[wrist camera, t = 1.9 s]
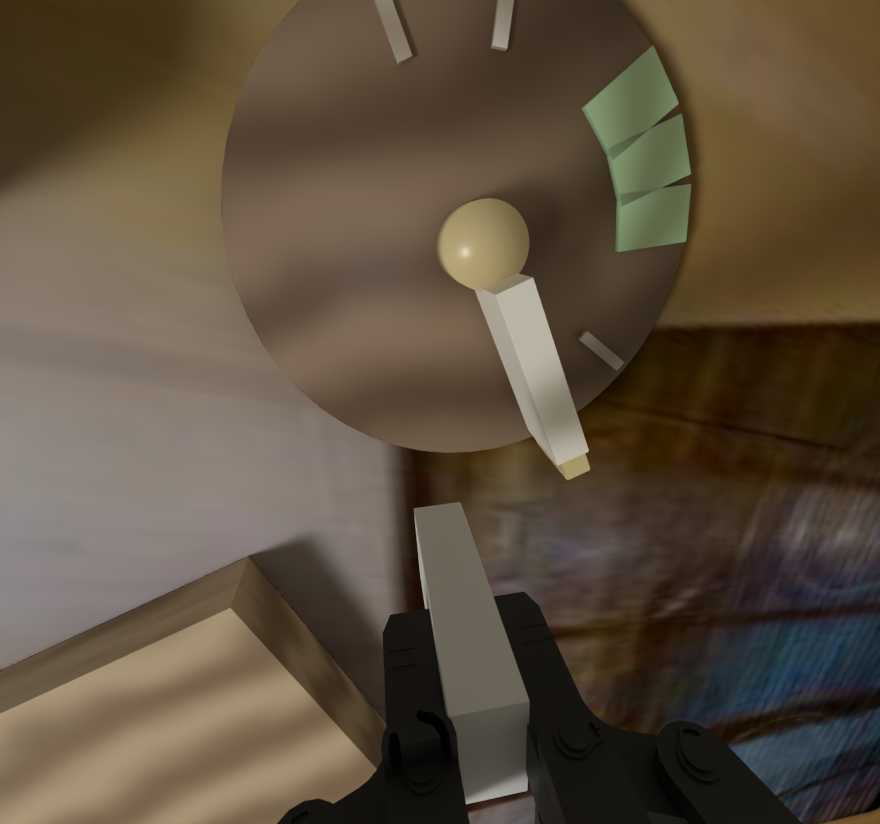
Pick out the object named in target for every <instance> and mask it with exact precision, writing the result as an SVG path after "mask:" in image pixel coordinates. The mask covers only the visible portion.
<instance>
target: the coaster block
mask: <svg viewBox="0 0 880 824" xmlns="http://www.w3.org/2000/svg"><path fill="white" fill-rule="evenodd" d="M385 729H386V723H385V722H384V720H383V719H382V718H381V717H380V715H379V714H378V713H377V712H376V711H375V709H374V708H373V707H372V706H371V705H370V703H369V702H368V701H367V700H366V698H365V697H364V696H363V695H362V694H361V692H360V691H359V690H358V689H357V687H356V686H355V685H354V684H353V683H352V681H351V680H350V679H349V678H348V677H347V675H346V674H345V673H344V672H343V670H342V669H341V668H340V667H339V666H338V664H337V663H336V662H335V661H334V659H333V658H332V657H331V656H330V655H329V653H328V652H327V651H326V650H325V649H324V647H323V646H322V645H321V644H320V642H319V641H318V640H317V639H316V638H315V636H314V635H313V634H312V633H311V631H310V630H309V629H308V628H307V627H306V625H305V624H304V623H303V622H302V621H301V619H300V618H299V617H298V616H297V614H296V613H295V612H294V611H293V610H292V608H291V607H290V606H289V605H288V603H287V602H286V601H285V600H284V599H283V597H282V596H281V595H280V594H279V593H278V591H277V590H276V589H275V588H274V586H273V585H272V584H271V583H270V582H269V580H268V579H267V578H266V577H265V575H264V574H263V573H262V572H261V571H260V569H259V568H258V567H257V566H256V565H255V563H254V562H253V561H252V560H251V558H250V557H249V556H248V557H246V558H244V559H241V560H239V561H237V562H235V563H233V564H231V565H228V566H226V567H224V568H222V569H220V570H218V571H215V572H213V573H211V574H209V575H207V576H205V577H202V578H200V579H198V580H196V581H194V582H192V583H189V584H187V585H185V586H183V587H181V588H179V589H176V590H174V591H172V592H170V593H168V594H166V595H163V596H161V597H159V598H157V599H155V600H153V601H150V602H148V603H146V604H144V605H142V606H140V607H137V608H135V609H133V610H131V611H129V612H127V613H125V614H122V615H120V616H118V617H116V618H114V619H112V620H109V621H107V622H105V623H103V624H101V625H99V626H96V627H94V628H92V629H90V630H88V631H86V632H83V633H81V634H79V635H77V636H75V637H73V638H70V639H68V640H66V641H64V642H62V643H60V644H57V645H55V646H53V647H51V648H49V649H47V650H44V651H42V652H40V653H38V654H36V655H34V656H31V657H29V658H27V659H25V660H23V661H21V662H18V663H16V664H14V665H12V666H10V667H8V668H5V669H3V670H1V671H0V824H277V823H278V822H279V821H280V819H281V818H282V817H283V816H284V815H285V814H286V813H287V812H288V810H290V809H292V808H293V807H295V806H296V805H298V804H300V803H301V802H303V801H307V800H313V799H322V800H325V801H328V802H331V803H333V804H334V803H335V802H337V801H338V800H340V799H342V798H343V797H345V796H347V795H348V794H350V793H351V792H353V791H355V790H356V789H358V788H359V787H360V786H362V785H363V784H364V783H365V782H367V781H368V780H369V779H370V777H371V776H372V775H373V774H374V773H375V771H376V770H377V768H378V766H379V765H380V763H381V761H382V754H381V744H382V738H383V733H384V731H385Z"/></svg>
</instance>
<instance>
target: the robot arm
mask: <svg viewBox="0 0 880 824" xmlns="http://www.w3.org/2000/svg"><path fill="white" fill-rule="evenodd" d="M414 516H415V526H416V536H417V547H418V557H419V567H420V577H421V584H422V590H423V596H424V603H425V609H423V610H417V611H411V612H405V613H399V614H393V615H390V617H389V620H388V622H387V624H386V627H385V629H384V632H383V650H384V672H385V674H384V676H385V702H386V729H385V731H384V733H383V738H382V744H381V754H382V761H381V763H380V765H379V766H378V768H377V770H376V771H375V773H374V774H373V775H372V776H371V777H370V779H369V780H368V781H367V782H365V783H364V784H363V785H362V786H360V787H359V788H358V789H356V790H355V791H353V792H351V793H350V794H348V795H347V796H345V797H343V798H342V799H340V800H338V801H337V802H335V803H334V804H333V803H331V802H328V801H325V800H322V799H313V800H307V801H303V802H301V803H300V804H298V805H296V806H295V807H293V808H292V809H290V810H288V812H287V813H286V814H285V815H284V816H283V817H282V818H281V819H280V821H279V822H278V823H277V824H469V818H468V813H467V807H466V804H469V803H474V802H478V801H483V800H487V799H492V798H496V797H501V796H505V795H510V794H515V793H519V792H524V791H527V785H528V780H529V783H530V787H531V790H532V794H533V797H534V800H535V804H536V805H535V824H802V823H801V822H800V821H799V820H798V819H797V818H796V817H795V816H794V814H793V813H792V812H791V811H790V810H789V809H788V808H787V807H786V806H785V805H784V804H783V803H782V802H781V801H780V800H779V799H778V798H777V797H776V796H775V795H774V794H773V793H772V792H771V790H770V789H769V788H768V787H767V786H766V785H765V784H764V783H763V782H762V781H761V780H760V779H759V778H758V777H757V776H756V775H755V774H754V773H753V772H752V771H751V770H750V769H749V767H748V766H747V765H746V764H745V763H744V762H743V761H742V760H741V759H740V758H739V757H738V756H737V755H736V754H735V753H734V752H733V751H732V750H731V749H730V748H729V747H728V746H727V745H726V743H725V742H723V741H722V740H721V739H720V738H718V737H717V736H716V735H715V734H714V733H712V732H711V731H710V730H708V729H706V728H704V727H702V726H700V725H697V724H695V723H691V722H685V721H676V722H673V723H669V724H667V725H666V726H665V727H664V728H663V729H662V730H661V731H660V732H659V736H655V735H649V734H643V733H636V732H630V731H625V730H621V729H618V728H614V727H612V726H610V725H608V724H606V723H604V722H603V721H602V720H600V719H599V718H598V717H596V716H595V715H594V714H593V713H592V712H591V711H590V710H589V708H588V707H587V706H586V705H585V703H584V701H583V700H582V698H581V696H580V694H579V692H578V690H577V687H576V685H575V683H574V681H573V679H572V677H571V675H570V672H569V670H568V668H567V666H566V664H565V662H564V659H563V657H562V655H561V653H560V651H559V649H558V646H557V644H556V642H554V638H553V636H552V633H551V631H550V629H549V627H547V623H546V620H545V618H544V616H543V614H542V612H541V610H540V607H539V605H538V604H536V603H535V602H534V601H533V600H532V599H531V598H530V597H529V596H528V595H527V594H526V593H525V592H519V593H513V594H507V595H501V596H495V597H493V594H492V592H491V589H490V586H489V583H488V580H487V577H486V574H485V571H484V569H483V566H482V563H481V560H480V557H479V554H478V551H477V548H476V546H475V543H474V540H473V537H472V534H471V531H470V528H469V526H468V523H467V520H466V517H465V514H464V511H463V508H462V505H461V503H460V502H458V503H451V504H444V505H436V506H429V507H422V508H415V509H414Z"/></svg>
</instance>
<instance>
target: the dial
mask: <svg viewBox="0 0 880 824" xmlns="http://www.w3.org/2000/svg"><path fill="white" fill-rule="evenodd" d="M678 104H679V102H678V100H677V98H676V95H675V93H674V91H673V89H672V86H671V84H670V82H669V79H668V77H667V75H666V73H665V70H664V68H663V66H662V63H661V61H660V59H659V57H658V54H657V52H656V50H655V48H654V45H653V46H651V44H650V43H649V41H648V40H647V38H646V37H645V35H644V34H643V32H642V31H641V29H640V28H639V26H638V25H637V24H636V22H635V21H634V19H633V18H632V17H631V15H630V14H629V13H628V12H627V11H626V10H625V9H624V8H623V7H622V6H621V5H620V3H619V2H618V1H617V0H299V1H298V3H297V4H296V5H295V6H294V7H293V8H292V10H291V11H290V12H289V13H288V14H287V15H286V17H285V18H284V19H283V20H282V21H281V22H280V24H279V25H278V26H277V27H276V28H275V30H274V31H273V33H272V34H271V36H270V38H269V39H268V41H267V42H266V44H265V46H264V47H263V49H262V50H261V52H260V54H259V55H258V57H257V59H256V60H255V62H254V63H253V66H252V68H251V70H250V73H249V75H248V77H247V79H246V82H245V84H244V86H243V89H242V91H241V93H240V96H239V98H238V100H237V104H236V107H235V111H234V115H233V118H232V122H231V125H230V129H229V133H228V136H227V142H226V149H225V157H224V164H223V171H222V221H223V229H224V237H225V245H226V251H227V255H228V259H229V263H230V267H231V271H232V275H233V279H234V283H235V286H236V288H237V291H238V293H239V296H240V298H241V301H242V304H243V306H244V309H245V311H246V314H247V316H248V318H249V320H250V322H251V323H252V325H253V327H254V329H255V331H256V333H257V334H258V336H259V338H260V340H261V342H262V344H263V345H264V346H265V348H266V349H267V351H268V352H269V353H270V355H271V356H272V358H273V359H274V360H275V362H276V363H277V365H278V366H279V367H280V369H281V370H282V371H283V372H284V373H285V374H286V375H287V376H288V377H289V379H290V380H291V381H292V382H293V383H294V384H295V385H296V386H297V387H298V388H299V389H300V391H302V392H303V393H304V394H305V395H306V396H307V397H309V398H310V399H311V400H312V401H313V402H315V403H316V404H317V405H318V406H319V407H320V408H322V409H323V410H324V411H326V412H327V413H329V414H330V415H332V416H334V417H335V418H337V419H338V420H340V421H341V422H343V423H344V424H346V425H348V426H350V427H352V428H354V429H356V430H358V431H360V432H362V433H364V434H366V435H368V436H370V437H373V438H376V439H379V440H382V441H385V442H388V443H390V444H393V445H397V446H402V447H407V448H411V449H416V450H422V451H433V452H444V453H448V452H472V451H479V450H486V449H493V448H497V447H501V446H505V445H508V444H512V443H516V442H519V441H522V440H524V439H527V438H529V437H532V436H533V435H532V434H531V433H530V432H529V430H528V428H527V425H526V423H525V420H524V418H523V415H522V412H521V410H520V407H519V405H518V402H517V399H516V397H515V394H514V391H513V389H512V386H511V384H510V381H509V378H508V376H507V373H506V371H505V368H504V365H503V363H502V360H501V358H500V355H499V352H498V350H497V347H496V344H495V342H494V339H493V337H492V334H491V331H490V329H489V326H488V324H487V321H486V318H485V316H484V313H483V311H482V308H481V305H480V303H479V300H478V297H477V295H476V292H475V290H474V289H471V288H469V287H466V286H465V285H463V284H461V283H459V282H457V281H456V280H454V279H452V278H451V277H450V276H449V275H448V274H447V273H446V272H445V271H444V270H443V268H442V267H441V265H440V263H439V261H438V258H437V254H436V246H435V245H436V235H437V232H438V229H439V226H440V224H441V222H442V221H443V219H444V218H445V216H446V215H447V214H448V213H449V212H450V211H451V210H453V209H454V208H456V207H457V206H459V205H462V204H464V203H468V202H472V201H475V200H479V199H485V198H493V199H498V200H502V201H504V202H506V203H508V204H510V205H511V206H513V207H514V208H515V209H516V210H517V211H518V212H519V213H520V215H521V216H522V218H523V220H524V221H525V224H526V226H527V229H528V233H529V252H528V256H527V259H526V262H525V264H524V266H523V268H522V270H521V271H520V273H519V274H523V275H526V276H530V277H533V279H534V282H535V285H536V288H537V291H538V294H539V297H540V300H541V304H542V307H543V310H544V313H545V316H546V319H547V322H548V325H549V328H550V332H551V335H552V338H553V341H554V344H555V347H556V350H557V353H558V356H559V360H560V363H561V366H562V369H563V372H564V375H565V378H566V381H567V385H568V388H569V391H570V394H571V397H572V400H573V403H574V406H575V409H576V412H578V411H579V410H581V409H582V408H583V407H585V406H586V405H587V404H589V403H590V402H591V401H592V400H593V399H594V398H596V397H597V396H598V395H599V394H600V393H601V392H603V391H604V390H605V389H606V388H607V387H608V386H609V385H610V384H611V383H612V382H613V381H614V380H615V378H616V377H617V376H618V375H619V374H620V373H621V372H622V371H623V370H624V369H625V367H626V366H627V365H628V364H629V362H630V361H631V360H632V358H633V357H634V356H635V354H636V353H637V352H638V350H639V349H640V348H641V346H642V345H643V343H644V341H645V340H646V338H647V336H648V335H649V333H650V332H651V330H652V328H653V327H654V325H655V323H656V321H657V319H658V317H659V315H660V313H661V311H662V309H663V306H664V304H665V302H666V300H667V298H668V295H669V292H670V290H671V287H672V284H673V281H674V278H675V276H676V273H677V270H678V266H679V262H680V257H681V253H682V249H683V245H684V242H686V238H687V226H688V215H689V204H690V193H691V184H689V175H690V174H691V170H690V163H689V157H688V150H687V144H686V137H685V131H684V124H683V117H682V113H681V114H680V112H679V109H678V106H677V105H678Z"/></svg>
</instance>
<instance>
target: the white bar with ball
mask: <svg viewBox="0 0 880 824" xmlns="http://www.w3.org/2000/svg"><path fill="white" fill-rule="evenodd" d="M435 246H436V254H437V258H438V261H439V263H440V265H441V267H442V268H443V270H444V271H445V272H446V273H447V274H448V275H449V276H450V277H451V278H452V279H454V280H456V281H457V282H459V283H461V284H463V285H465V286H466V287H469V288H471V289H474V290H475V292H476V295H477V297H478V300H479V303H480V305H481V308H482V311H483V313H484V316H485V318H486V321H487V324H488V326H489V329H490V331H491V334H492V337H493V339H494V342H495V344H496V347H497V350H498V352H499V355H500V358H501V360H502V363H503V365H504V368H505V371H506V373H507V376H508V378H509V381H510V384H511V386H512V389H513V391H514V394H515V397H516V399H517V402H518V405H519V407H520V410H521V412H522V415H523V418H524V420H525V423H526V425H527V428H528V430H529V432H530V433H531V434H532V435H533V436H534V438H535V439H536V441H537V444H538V445H539V446H540V447H541V449H542V450H543V451H544V452H545V453H546V455H547V456H548V457H549V458H550V460H551V461H552V462H553V463H554V465H555V466H556V467H557V468H558V469H559V471H560V472H561V473H562V474H563V476H564V477H565V478H566V479H567V480H569V479H571V478H574V477H576V476H578V475H580V474H582V473H585V472H587V471H589V470H590V467H589V464H588V461H587V458H586V455H585V453H586V452H589V450H588V447H587V444H586V441H585V437H584V434H583V431H582V428H581V425H580V422H579V419H578V416H577V413H576V409H575V406H574V403H573V400H572V397H571V394H570V391H569V388H568V385H567V381H566V378H565V375H564V372H563V369H562V366H561V363H560V360H559V356H558V353H557V350H556V347H555V344H554V341H553V338H552V335H551V332H550V328H549V325H548V322H547V319H546V316H545V313H544V310H543V307H542V304H541V300H540V297H539V294H538V291H537V288H536V285H535V282H534V279H533V277H530V276H526V275H523V274H519V273H520V271H521V270H522V268H523V266H524V264H525V262H526V259H527V256H528V252H529V233H528V229H527V226H526V224H525V221H524V220H523V218H522V216H521V215H520V213H519V212H518V211H517V210H516V209H515V208H514V207H513V206H511V205H510V204H508V203H506V202H504V201H502V200H498V199H493V198H485V199H479V200H475V201H472V202H468V203H464V204H462V205H459V206H457V207H456V208H454V209H453V210H451V211H450V212H449V213H448V214H447V215H446V216H445V218H444V219H443V221H442V222H441V224H440V226H439V229H438V232H437V235H436V245H435Z"/></svg>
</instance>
